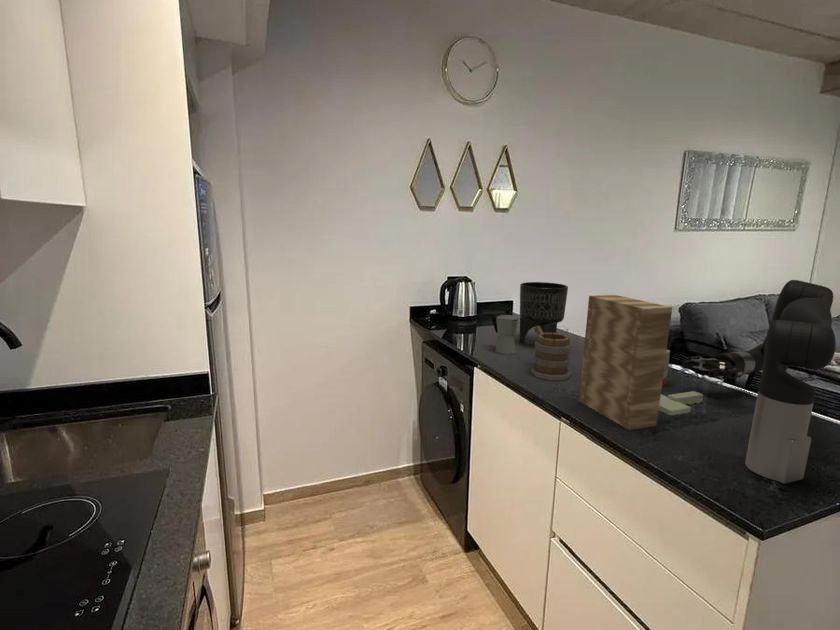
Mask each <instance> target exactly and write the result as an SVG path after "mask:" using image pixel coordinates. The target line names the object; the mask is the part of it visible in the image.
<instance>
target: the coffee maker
mask: <svg viewBox="0 0 840 630" xmlns="http://www.w3.org/2000/svg"><path fill="white" fill-rule="evenodd" d="M511 311H512V309H510V308H505V309H504V313H505V314H501V313H500V314H493V316H492V318H491V322H492V324H493V327H494V331H495V333H496V334H497V333H498V336H497V341H496V346H495V349H494V350H495V351H494V352H495V353H496V354H499V355H507V356H511V355H515V354H516V346H515V345H516V343H515V335H516V332H517V328H518V323H520V320H519V317H517V316H514V315H513V314H512V315H511Z"/></svg>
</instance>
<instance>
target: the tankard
mask: <svg viewBox="0 0 840 630" xmlns="http://www.w3.org/2000/svg"><path fill="white" fill-rule="evenodd" d="M533 328H534V329H533V331H534V333H537V335H536V336H537V339H536V341H534V355H533V363H535V364H534V366H533V367H531V368H530V373H531V374H532V375H533V376H535V377H536V378H537V379H542V380H546V381H549V382H555V381H557V382H558V381H566V380H568V379H569V378H570V377H571V375H572V371H570V370H569V369H568V366H569V365H571V364H570V363H571V357H569V354H570V352H571V351H572V343H570V342H571V337H570V336H568V335H566V334H563V333H557V332H556V333H543V331H542V329H541V328H540V326H536V327H533Z"/></svg>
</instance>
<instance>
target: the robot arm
mask: <svg viewBox="0 0 840 630" xmlns="http://www.w3.org/2000/svg"><path fill="white" fill-rule="evenodd" d="M833 301H834V292H833V290H832V289H831V288H830V287H826V286H823V285H820V284H815V283H812V282H807V281H803V280H798V279H790V280H789V281H787V282H786V283H785V285H783V287H782V289H781V290H780V292H779V295H778V297H777V300H776V304H775V308H774V310H773V314H772V318H771V323H770V324H769V327H768V328H767V331H766V336H765V338H764V339H763V342H762V343H760V344H758V345H757V346H755V347H754V348H752V349H749V350H745V351H744V350H743V351H731V352H721V353H718V354H717V355H715V356H714V357H713V358H712V357H711V358H704V356H703V355H697V356H695V355H694V356H687V358H686V360H685V361H683V362H682V366H681V367H682V369H692V368H693V369H698V370H700V371H708V373H707V377H708V378H711V379H713V378H718V377H719V378H725V379H726V380H732V379H733V380H734V379H738V378H742V376H746V375H747V374H754V373H759V372H761V376H760V381H759V385H758V389H757V396H756V401H755V407H754V411H753V417H752V423H751V428H750V434H749V439H748V446H747V452H746V455H745V456H746V457H745V462H744V463H745V466H746V467H747V469H748V470H750V471H751V472H753V473H755V474H757V475H759V476H760V477H764V478H767V479H769V480H773V481H777V482H779V483H781V484H789V483H793V482H797V481H801V480H803V479H804V476H805V472H806V467H807V462H808V457H809V453H810V448H811V443H812V437H811V436H809V435H808V431H809V427H810V421H811V417H812V412H813V408H814V407H813V406H814V403H815V398H816V389H815V388H814V387H813V386H812V385H810V384H808V382H807V383H806V382H805V381H803V380H801V379H798V378H796V377H795V376H793V375H792V374H790V373H788V372H787V370H788V369H789V367H793V368H794V367H796V368H801V369H802V368H804V369H806V370H807V369H808V370H822V369H824V368H826V367H828V365H829V364H831V362H832V360H833V358H834V356H835V353H836V335H835V332H834V328H833V327H832V326H833V325H832V324H833V323H832V322H833V319H832V313H831V309H832V306H833ZM703 364H704V367H703Z"/></svg>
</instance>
